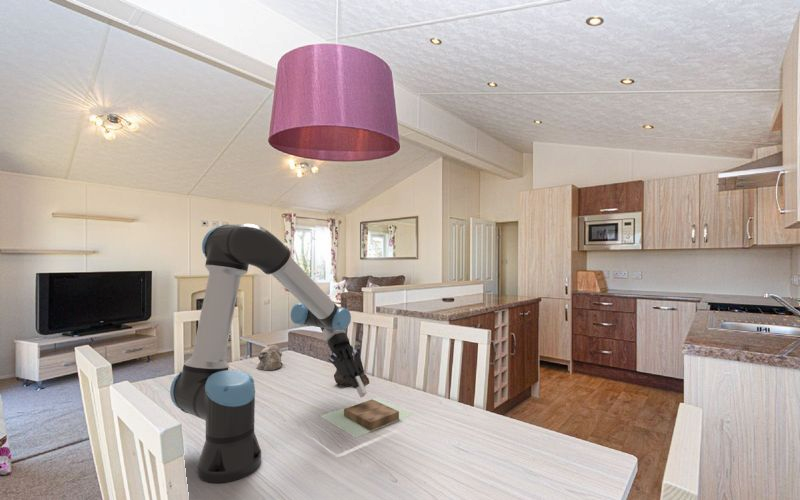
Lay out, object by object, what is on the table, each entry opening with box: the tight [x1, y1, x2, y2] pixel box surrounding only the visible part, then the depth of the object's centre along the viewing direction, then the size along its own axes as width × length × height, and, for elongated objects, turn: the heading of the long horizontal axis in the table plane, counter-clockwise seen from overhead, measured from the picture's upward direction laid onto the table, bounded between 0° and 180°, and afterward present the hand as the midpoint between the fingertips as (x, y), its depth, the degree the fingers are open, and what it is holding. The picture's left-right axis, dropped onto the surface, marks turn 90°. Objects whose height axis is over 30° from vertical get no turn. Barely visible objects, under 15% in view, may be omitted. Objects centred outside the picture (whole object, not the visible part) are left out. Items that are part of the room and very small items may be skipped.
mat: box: [319, 397, 414, 438], centre depth 130 cm, size 24×20×1 cm
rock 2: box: [333, 369, 370, 387], centre depth 161 cm, size 14×9×10 cm
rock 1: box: [256, 344, 284, 371], centre depth 186 cm, size 15×12×10 cm
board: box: [344, 398, 399, 432], centre depth 128 cm, size 12×2×14 cm
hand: (363, 394), depth 131 cm, fingers closed
